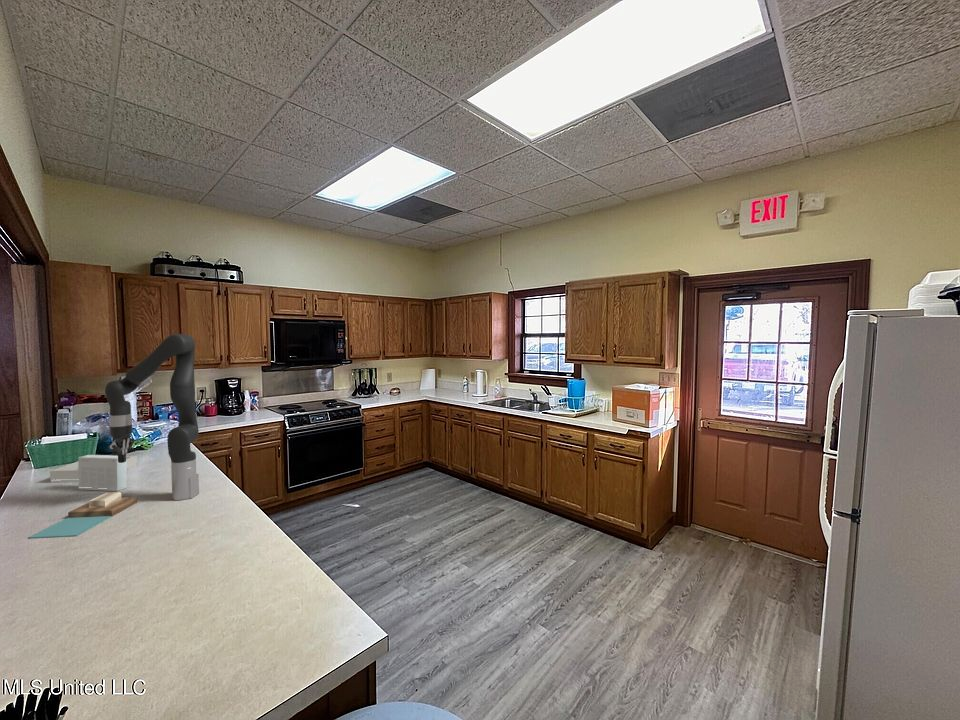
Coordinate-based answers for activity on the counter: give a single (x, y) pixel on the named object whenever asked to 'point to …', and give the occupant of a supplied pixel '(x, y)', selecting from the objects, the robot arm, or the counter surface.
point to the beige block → (105, 500)
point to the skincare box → (102, 473)
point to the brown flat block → (102, 509)
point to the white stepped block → (72, 470)
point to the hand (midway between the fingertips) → (122, 462)
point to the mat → (70, 527)
